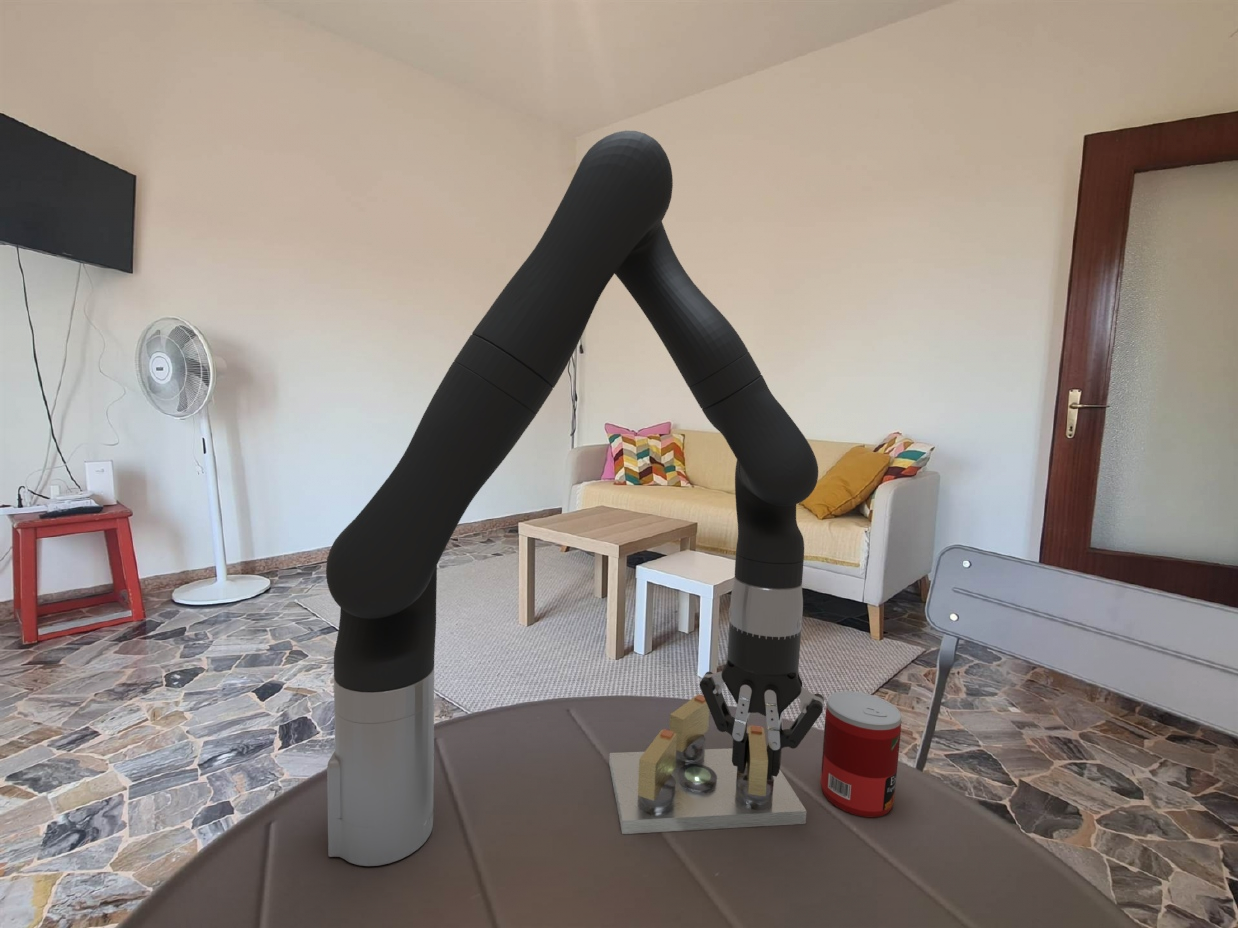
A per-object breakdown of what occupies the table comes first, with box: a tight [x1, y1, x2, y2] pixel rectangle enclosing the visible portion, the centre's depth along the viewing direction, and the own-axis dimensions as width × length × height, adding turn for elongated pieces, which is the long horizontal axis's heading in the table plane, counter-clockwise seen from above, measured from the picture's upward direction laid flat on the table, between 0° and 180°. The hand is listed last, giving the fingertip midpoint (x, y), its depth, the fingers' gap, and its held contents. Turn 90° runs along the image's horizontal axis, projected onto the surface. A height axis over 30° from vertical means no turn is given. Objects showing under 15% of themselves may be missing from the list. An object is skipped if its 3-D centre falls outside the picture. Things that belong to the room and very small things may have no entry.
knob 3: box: [735, 724, 774, 810], centre depth 66 cm, size 6×4×7 cm, turn 170°
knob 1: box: [638, 728, 677, 815], centre depth 65 cm, size 6×4×7 cm, turn 155°
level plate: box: [608, 747, 807, 835], centre depth 69 cm, size 20×12×2 cm, turn 97°
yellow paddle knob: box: [668, 694, 710, 766], centre depth 73 cm, size 6×4×7 cm, turn 142°
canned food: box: [820, 690, 902, 818], centre depth 69 cm, size 8×8×11 cm
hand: (755, 771), depth 66 cm, fingers closed on knob 3, 2 cm apart
